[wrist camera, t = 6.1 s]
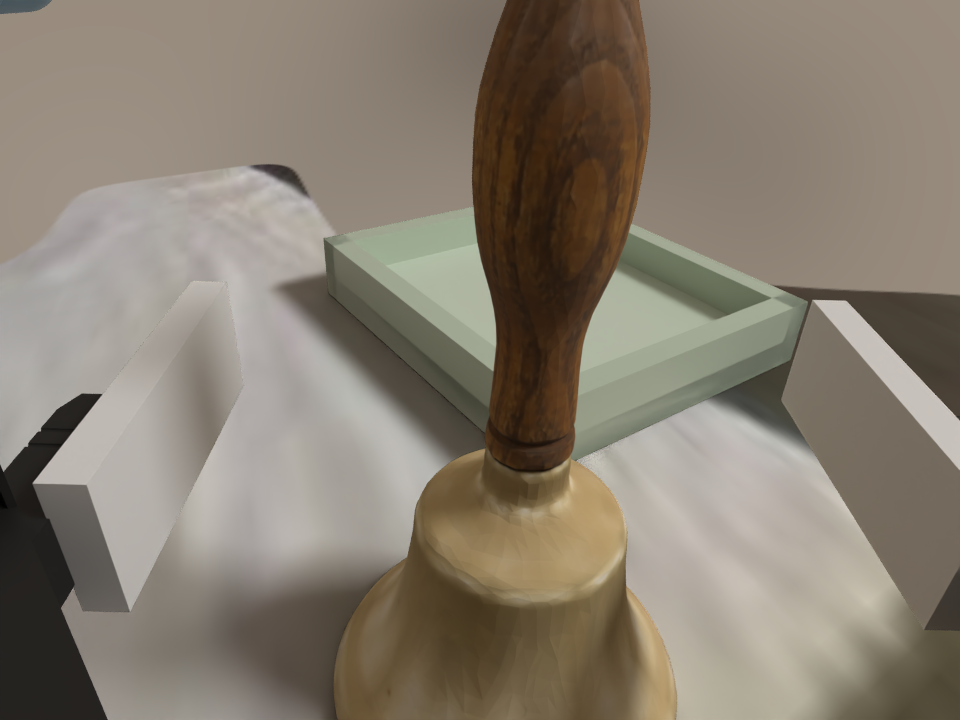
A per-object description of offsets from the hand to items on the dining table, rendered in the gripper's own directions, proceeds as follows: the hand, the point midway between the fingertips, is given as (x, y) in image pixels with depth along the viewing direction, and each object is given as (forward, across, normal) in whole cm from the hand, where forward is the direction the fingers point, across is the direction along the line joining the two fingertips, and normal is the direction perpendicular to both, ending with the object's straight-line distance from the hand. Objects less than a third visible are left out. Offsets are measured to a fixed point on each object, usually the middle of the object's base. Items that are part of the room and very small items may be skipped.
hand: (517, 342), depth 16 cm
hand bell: (-3, 0, -8) cm, 8 cm away
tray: (+14, +2, -7) cm, 16 cm away
